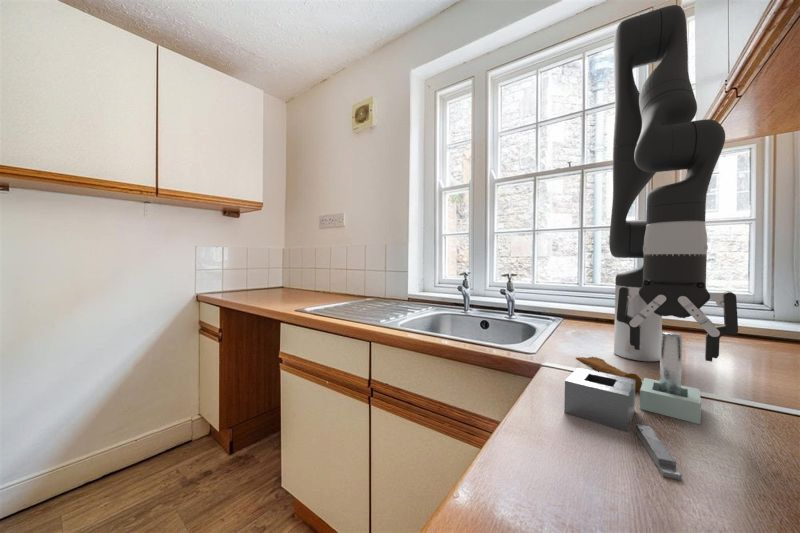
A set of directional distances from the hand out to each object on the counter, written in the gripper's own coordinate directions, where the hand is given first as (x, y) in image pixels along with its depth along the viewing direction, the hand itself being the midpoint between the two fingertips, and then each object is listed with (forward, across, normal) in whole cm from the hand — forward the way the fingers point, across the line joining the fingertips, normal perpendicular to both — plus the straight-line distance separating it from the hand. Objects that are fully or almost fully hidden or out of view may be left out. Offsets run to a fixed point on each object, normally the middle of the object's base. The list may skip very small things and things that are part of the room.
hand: (670, 354), depth 50 cm
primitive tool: (+9, +11, -12) cm, 19 cm away
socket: (+9, +8, +9) cm, 15 cm away
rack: (+9, 0, 0) cm, 9 cm away
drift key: (+9, +1, +16) cm, 18 cm away
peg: (+9, 0, 0) cm, 9 cm away
